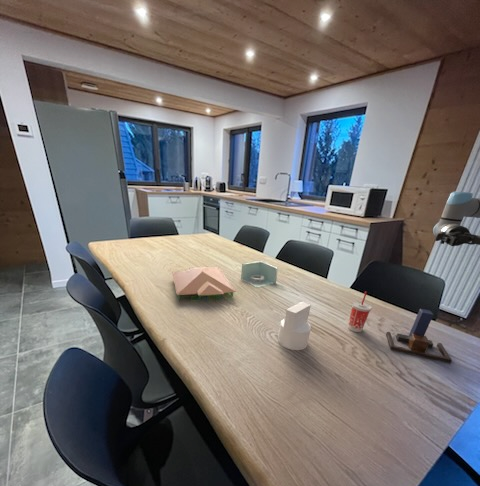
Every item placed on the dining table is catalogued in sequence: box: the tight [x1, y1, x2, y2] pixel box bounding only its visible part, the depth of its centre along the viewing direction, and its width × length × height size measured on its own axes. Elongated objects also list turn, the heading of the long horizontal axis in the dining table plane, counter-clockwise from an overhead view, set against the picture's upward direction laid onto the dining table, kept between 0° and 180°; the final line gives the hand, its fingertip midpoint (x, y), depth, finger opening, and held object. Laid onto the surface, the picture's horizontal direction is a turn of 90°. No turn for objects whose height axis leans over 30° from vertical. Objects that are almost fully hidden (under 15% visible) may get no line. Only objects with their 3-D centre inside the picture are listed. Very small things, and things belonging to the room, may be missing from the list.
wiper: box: [395, 308, 434, 349], centre depth 84 cm, size 10×3×12 cm, turn 70°
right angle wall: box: [240, 260, 279, 288], centre depth 126 cm, size 12×12×8 cm
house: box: [171, 266, 236, 303], centre depth 113 cm, size 23×33×8 cm
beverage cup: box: [347, 290, 373, 333], centre depth 89 cm, size 6×6×14 cm
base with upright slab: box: [277, 300, 312, 351], centre depth 79 cm, size 9×9×12 cm
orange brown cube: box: [407, 333, 430, 353], centre depth 82 cm, size 4×4×4 cm
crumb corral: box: [385, 331, 453, 364], centre depth 83 cm, size 16×10×1 cm, turn 70°
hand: (478, 245), depth 87 cm, fingers open, 13 cm apart
